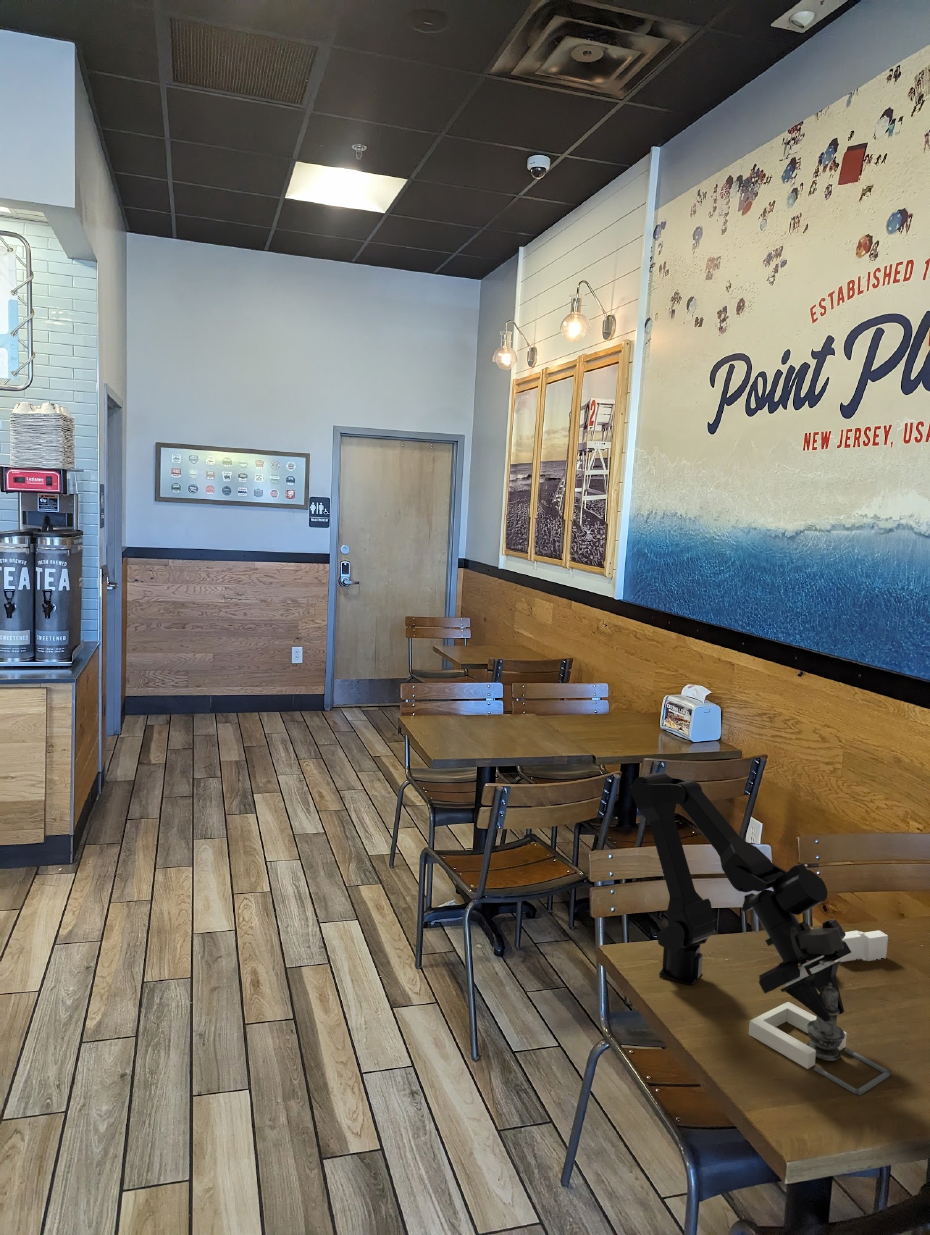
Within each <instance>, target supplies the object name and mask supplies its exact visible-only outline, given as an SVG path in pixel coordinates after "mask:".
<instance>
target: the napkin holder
mask: <svg viewBox="0 0 930 1235" xmlns="http://www.w3.org/2000/svg"><path fill="white" fill-rule="evenodd" d="M844 932H845V934H846V935H845V937H844V938H843V939H842V941H844V942H846V944H847V945H848V947H849V949H850V950H851V953H849V954H847V955H845V956H843V957H841V958H839V959H837V960H835V961H834V963H836V962H839V961H841V963H843V962H849V961H856V959H857V960H862V961H866V962H870V961H877V960H876V959H878V960H882V959H881V958H884V959H886V958H887V950H888V941H889V935H888V934H887V933H886V934H885V933H884V932H883V931H881V930H880V929H879V930H873V931H872V930H871V931H867V932H863V931H859V930H851V931H844Z"/></svg>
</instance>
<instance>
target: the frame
mask: <svg viewBox="0 0 930 1235" xmlns="http://www.w3.org/2000/svg"><path fill="white" fill-rule="evenodd" d="M844 1052H845V1054H849V1055H850V1056H852V1057H854V1058H855V1059H857V1060H859V1061H861V1062H862V1063H865V1064H867V1065H868V1066H870V1067H872V1068H873V1069H876V1070H878V1071H879V1072H880V1074H879V1075H878V1076H876V1077H874V1078H873V1079H871V1080H870V1081H868V1082H866V1083H865V1084H863V1085H862V1086H860V1087H859V1088H855V1087H853V1086H852V1085H850V1084H849V1083H846V1082H845V1081H843V1080H842V1079H840V1078H838V1077H837V1076H834V1075H833V1074H831V1073H830V1072H828V1071H826V1070H824V1069H823V1068H821V1067H819V1066H818V1065H817V1066H813V1067H814V1068H813V1070H814V1071H815V1072H817V1073H819V1074H821V1075H822V1076H824V1077H825V1078H827V1079H829V1080H831V1081H832V1082H834V1083H836V1084H838V1085H839V1086H841V1087H843V1088H845V1089H847V1090H848V1091H849V1092H851V1093H853V1094H855V1095H856V1096H858V1097H860V1096H862V1095H863V1094H864V1093H866V1092H867V1091H869V1090H870V1089H872V1088H874V1087H875V1086H877V1085H878V1084H880V1083H881V1082H883V1081H884V1080H886V1079H887V1078H889V1077H890V1076H892V1074H893V1071H890V1070H888V1069H886V1068H884V1067H883V1066H881V1065H879V1064H877V1063H875V1062H873V1061H872V1060H870V1059H869V1058H866V1057H864V1056H862V1055H861V1054H859V1053H857V1052H856V1051H854V1050H852V1049H850V1048H848V1047H847V1048H844Z"/></svg>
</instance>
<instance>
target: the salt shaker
mask: <svg viewBox="0 0 930 1235" xmlns="http://www.w3.org/2000/svg"><path fill="white" fill-rule="evenodd" d="M818 994H819V995H820V997H821V999H822V1001H823V1003H824V1005H825V1007H826V1009H827V1011H828V1014H829V1016H830V1020H829V1021H827V1022H825V1021H823V1020H822V1019H821V1018H820V1017H818V1016H817V1015H816V1017H817V1018H816V1020H813V1021H810V1022H808V1023H807V1025H806V1026H807V1030H808V1033H807V1034H808V1037H809V1039H810V1040H809V1041H808V1042H807V1043H806V1045H807V1046H809V1047H811V1048H813V1049H814V1050H816V1056H815V1058H818V1059H821V1060H824V1061H830V1062H831V1061H837V1060H839V1059H840V1058H841V1057H842V1053H841V1050H839V1049H838V1048H837V1047H839V1046H840V1044H841V1043H842V1040H843V1039H844V1037H845V1033H844V1032H845V1031H844V1030H843V1029H842V1028H841V1027H840V1026H838V1024H837V1021H838V1020H837V1019H838V1015H840V1014H839V1012H840V1010H839V1009H838V1008H837V1007H838V997H839V994H838V991H837V990H836V989H835V988H834V987H832V983H831V982H829V983H828V986H823V987H821V989H820V992H819V993H818ZM843 1031H844V1032H843Z"/></svg>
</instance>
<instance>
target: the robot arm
mask: <svg viewBox="0 0 930 1235" xmlns="http://www.w3.org/2000/svg"><path fill="white" fill-rule="evenodd" d="M630 792H631V797H632V800H633V801H634V803H635V807H636V809H637V811H638V812H639V813H640V814H641V816H643V818H645V820H646V821H647V822H648V823H649V827H650V830H651V834H652V836H653V841H654V845H655V848H656V851H657V856H658V859H659V861H660V862H659V863H660V866H661V870H662V873H663V877H664V881H665V883H666V884H665V885H666V887H667V891H668V895H669V899H668V905H667V908H666V909H667V910H666V919H667V926H665V927H664V928H663V929H661V930H660V931H658V932H656V938H657V944H658V945H659V946H661V947H662V948H663V952H662V953H663V954H662V967H661V969H660V971H659V973H658V975H659V977H661V978H665V979H668V980H672V981H675V982H677V983H682V984H684V985H687V986H693V985H694V984H695V982H696V981H697V980H698V979H699V978H700V977H701V975H702V971H703V970H702V969H703V953H701V945H702V944H706V943H707V942H708V939H709V938H710V937H712V936H713V934H714V932H715V930H716V925H715V924H716V923H715V921H717V918H716V916H715V914H714V912H713V909H712V904H711V901H710V899H709V898H705V899H703V898H702V896H700V894H698V893H697V891H696V888H695V884H694V881H693V878H692V875H691V871H690V868H689V864H688V861H687V857H686V853H685V851H684V847H683V843H682V840H681V836H680V834H679V833H680V832H679V829H678V826H677V821H676V819H675V812H676V808H677V804H678V805H679V806H680V807H681V809H682V810H684V812H685V813H686V814H687V816H688V817H689V818H690V819H691V821H692V822H693V823H694V825H695V826H696V827H697V829H698V830H699V831H700V833H702V835H703V836H704V837H705V838H706V840H707V841H708V842H709V844H710V845H711V846H712V847H713V849H714V850H715V852H716V853H717V855H718V856H719V859H720V865H721V869H722V871H723V872H724V875H725V877H726V878H727V879H728V881H729V884H730V885H731V886H732V887H733V888H734V889H735V891H738V892H741V893H749V892H751V893H749V894H745V895H744V896H743V898H744V900H743V904H742V907H741V911H742V912H744V913H745V912H748V911H751V910H753V911H754V913H755V915H756V917H757V918H758V920H759V922H760V924H761V926H762V927H763V929H764V931H765V933H766V934H767V936H768V938H767V939H765V940H764V941H765V942H766V943H765V944H767V947H770V946H772V945H773V946H774V948H775V951H776V952H777V953H778V955H779V957H780V959H781V962H780V963H778V965H777V966H775V967H773V968H771V969H769V970H768V971H765V972H764V973H762V974H759V976H758V984H759V986H760V988H761V990H762V991H763V994H765V995H766V994H768V993H769V992H772V991H775V990H776V989H777V988H780V987H782V986H785V987H782V988H780V992H782V993H784V992H785V993H787V994H788V995H790V996H791V997H792V998H793V999H795V1000H797V1001H798V1002H799V1003H801V1004H802V1005H803V1006H805V1008H807V1009H808V1010H810V1011H811V1012H812V1013H814V1014H815V1016H816V1017H817V1016H818V1017H820V1018H821V1019H822V1020H823V1021H825V1022H827V1021H829V1020H830V1016H829V1014H828V1011H827V1009H826V1007H825V1005H824V1003H823V1001H822V999H821V997H820V995H819V994H820V989H821V987H823V986H828V983H829V982H831V983H832V987H834V988H835V989H836V990H837V991H838V994H839V997H838V1007H837V1008H838V1009H839V1010H840V1012H839V1014H838V1015H842V1014H844V1013H845V1008H844V1005H843V1001H842V996H841V993H840V988H839V985H838V984H839V983H838V979H837V972H838V968H839V966H840V965H841V963H842V962H841V961H839V962H835V960H837V959H839V958H841V957H843V956H845V955H847V954H849V953H851V950H850V949H849V947H848V945H847V944H846V942H844V941H842V939H843V938H844V937H845V935H846V934H845V932H846V931H844V928H842V926H841V924H840V923H839V922H838V921H837V919H827V920H825V921H823V922H822V924H821V925H822V926H821V927H818V928H813V929H811V928H812V927H811V928H810V924H809V923H808V922H806V921H805V920H804V921H801V922H800V920H799V919H798V917H797V916H798V915H800V916H801V915H802V914H804V913H805V912H807V911H809V910H811V909H812V908H814V907H816V906H818V905H820V904H821V903H823V902H825V901H826V900H827V898H828V889H827V886H826V883H825V882H824V880H823V878H821V877H820V876H818V874H817V873H815V872H814V871H812V870H810V869H807V868H806V866H805V864H804V863H799V864H795V865H794V866H792V867H791V868H789V870H788V871H787V870H785V869H783V868H782V867H780V866H778V865H777V864H775V863H773V862H772V860H770V859H769V857H768V856H767V855H766V854H765V853H764V852H762V851H761V850H760V849H759V848H758V847H757V846H756V845H754V844H752V843H750V842H747V841H746V840H744V839H743V838H742V837H741V836H740V835H739V834H738V833H737V832H736V830H734V828H733V827H732V826H731V825H730V823H729V822H728V821H727V820H726V818H725V817H724V816H723V815H722V814H721V813H720V811H719V810H718V809H717V807H716V806H715V805H714V804H713V803H712V801H711V800H710V799H709V797H708V796H707V795H706V794H705V792H703V789H702V786H701V784H700V783H699V782H697V781H694V780H686V779H684V778H679V777H671V776H669V775H668V774H666V773H665V772H657V773H650V774H647V775H641V776H638V777H636V778H635V779H634V780H633V782H632V783H631V786H630ZM771 889H772V890H771ZM753 891H754V892H757V894H755V893H753ZM806 960H809V962H807V961H806ZM799 963H800V966H798V964H799ZM808 970H809V971H810V973H811V974H808V972H807V971H808Z"/></svg>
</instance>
